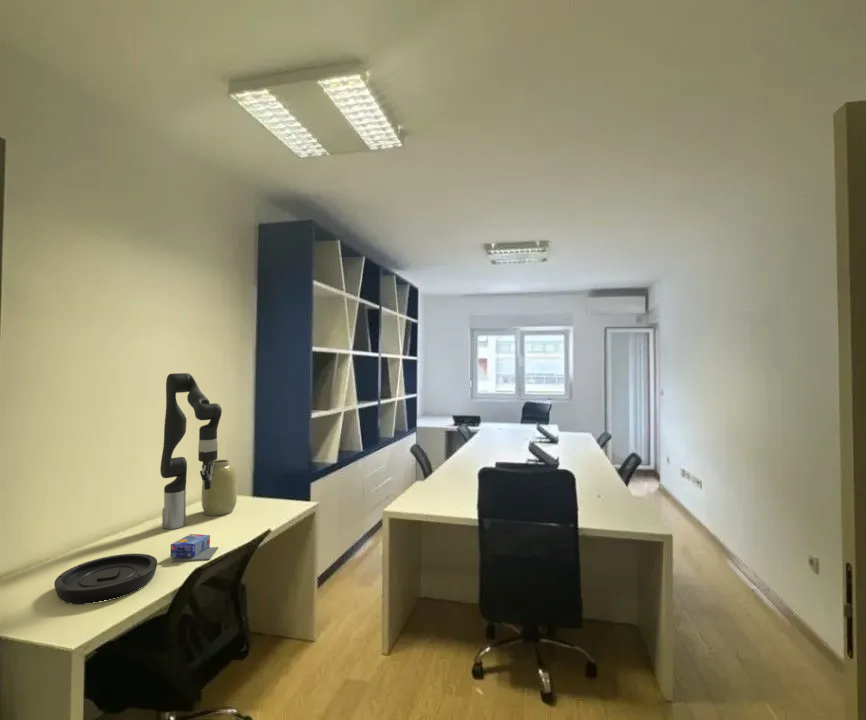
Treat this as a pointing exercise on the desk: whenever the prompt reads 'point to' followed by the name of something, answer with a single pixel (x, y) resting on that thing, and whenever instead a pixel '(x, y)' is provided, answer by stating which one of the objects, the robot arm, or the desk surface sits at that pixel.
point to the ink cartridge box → (190, 545)
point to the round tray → (105, 578)
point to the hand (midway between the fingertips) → (207, 488)
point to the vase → (220, 490)
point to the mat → (201, 556)
